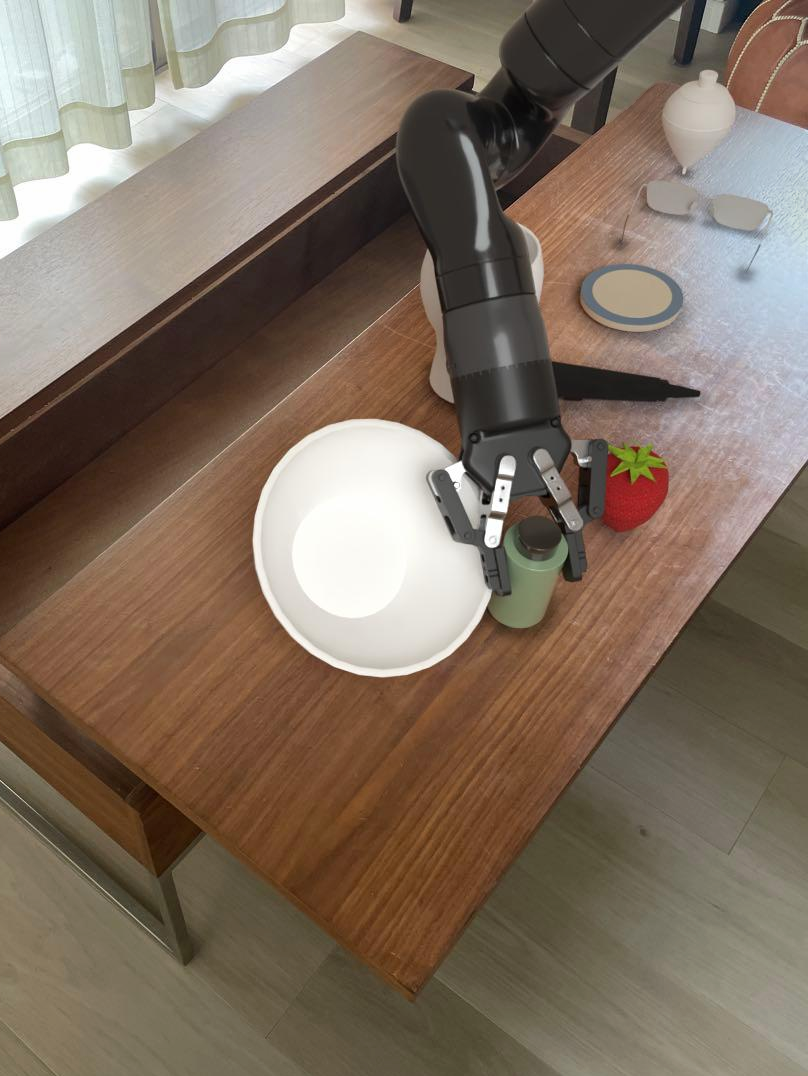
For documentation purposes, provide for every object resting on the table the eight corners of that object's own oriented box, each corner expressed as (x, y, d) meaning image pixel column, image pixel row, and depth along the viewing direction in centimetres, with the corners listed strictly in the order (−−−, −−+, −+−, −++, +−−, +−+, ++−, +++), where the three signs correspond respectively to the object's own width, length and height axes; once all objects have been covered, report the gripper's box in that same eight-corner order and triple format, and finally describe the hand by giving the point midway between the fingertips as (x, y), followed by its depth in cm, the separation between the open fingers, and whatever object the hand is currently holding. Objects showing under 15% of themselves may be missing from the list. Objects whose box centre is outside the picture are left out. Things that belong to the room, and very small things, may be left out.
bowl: (383, 729, 86) (419, 729, 80) (181, 588, 84) (202, 576, 77) (496, 532, 92) (539, 517, 86) (311, 394, 89) (341, 367, 83)
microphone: (682, 409, 106) (476, 388, 106) (699, 354, 103) (488, 332, 103) (698, 434, 101) (483, 413, 101) (717, 377, 98) (496, 354, 98)
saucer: (684, 283, 114) (687, 271, 112) (674, 344, 108) (678, 331, 106) (586, 269, 116) (588, 257, 115) (571, 327, 110) (574, 315, 109)
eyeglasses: (766, 234, 118) (776, 203, 115) (747, 280, 114) (758, 250, 111) (637, 206, 123) (644, 175, 120) (615, 249, 119) (621, 219, 116)
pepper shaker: (551, 589, 89) (578, 517, 81) (538, 636, 86) (565, 566, 79) (493, 571, 90) (515, 499, 82) (479, 618, 87) (500, 547, 80)
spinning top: (666, 196, 124) (691, 95, 115) (638, 161, 129) (660, 62, 120) (730, 185, 125) (760, 84, 115) (699, 151, 130) (726, 51, 120)
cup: (429, 425, 101) (439, 292, 90) (403, 352, 108) (409, 220, 97) (540, 409, 102) (565, 275, 91) (508, 337, 109) (526, 204, 98)
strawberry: (568, 546, 92) (587, 462, 84) (598, 487, 96) (620, 403, 88) (637, 571, 90) (664, 488, 82) (665, 510, 94) (693, 426, 86)
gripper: (418, 377, 77) (461, 612, 78) (610, 341, 79) (650, 573, 80) (395, 387, 85) (435, 601, 86) (571, 354, 86) (608, 566, 87)
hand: (538, 586), depth 83 cm, fingers closed on pepper shaker, 5 cm apart
